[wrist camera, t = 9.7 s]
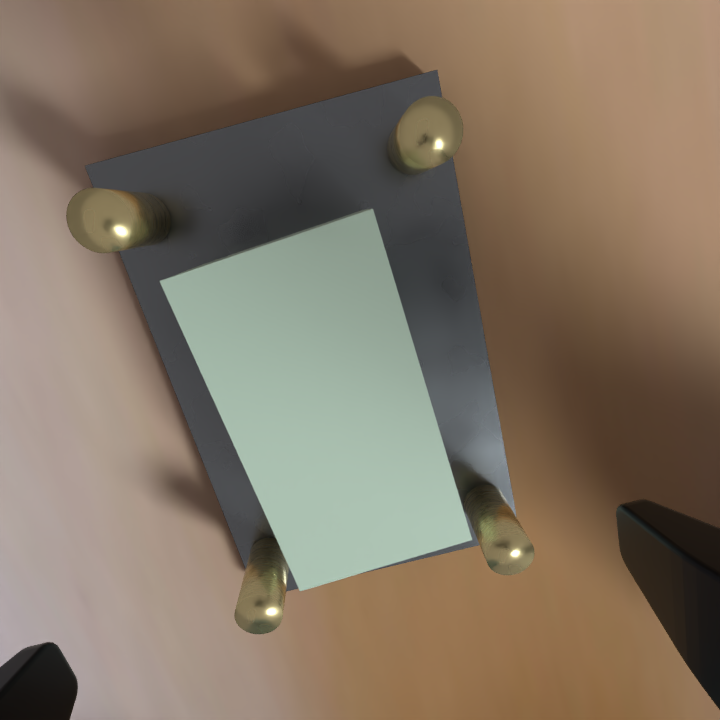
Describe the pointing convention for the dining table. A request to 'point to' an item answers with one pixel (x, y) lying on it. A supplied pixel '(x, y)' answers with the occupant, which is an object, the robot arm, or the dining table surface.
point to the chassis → (296, 213)
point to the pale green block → (323, 398)
